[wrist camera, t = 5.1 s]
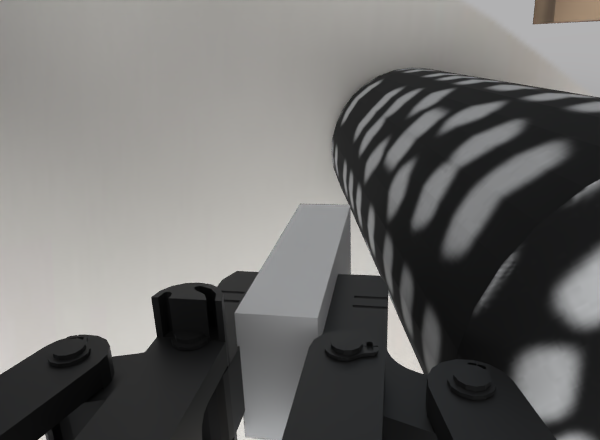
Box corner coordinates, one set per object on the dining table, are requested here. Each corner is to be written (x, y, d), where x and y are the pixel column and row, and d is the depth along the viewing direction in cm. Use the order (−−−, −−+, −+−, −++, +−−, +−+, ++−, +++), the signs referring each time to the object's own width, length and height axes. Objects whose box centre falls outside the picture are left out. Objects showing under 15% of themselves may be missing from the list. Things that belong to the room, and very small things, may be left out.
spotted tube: (328, 72, 26) (462, 147, 7) (489, 62, 26) (1032, 111, 7) (334, 225, 29) (441, 570, 10) (479, 215, 29) (857, 535, 10)
